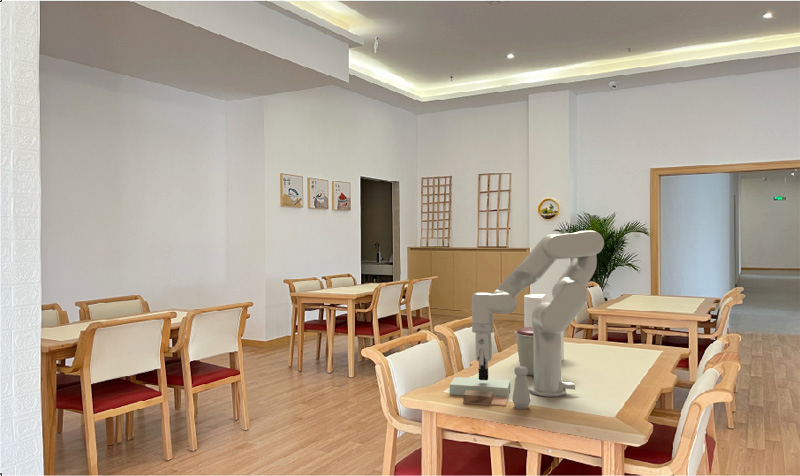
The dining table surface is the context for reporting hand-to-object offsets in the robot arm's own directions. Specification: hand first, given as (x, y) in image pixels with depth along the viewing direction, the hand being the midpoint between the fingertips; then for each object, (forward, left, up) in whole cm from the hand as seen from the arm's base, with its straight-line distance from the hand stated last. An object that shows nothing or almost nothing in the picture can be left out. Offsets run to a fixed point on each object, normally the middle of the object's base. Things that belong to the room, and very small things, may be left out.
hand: (483, 379), depth 201 cm
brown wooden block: (+1, +11, -3) cm, 12 cm away
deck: (+1, -1, -5) cm, 5 cm away
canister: (-18, -33, -5) cm, 38 cm away
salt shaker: (-14, +14, -5) cm, 20 cm away
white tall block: (-20, -63, -5) cm, 66 cm away
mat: (-2, +10, -5) cm, 11 cm away
